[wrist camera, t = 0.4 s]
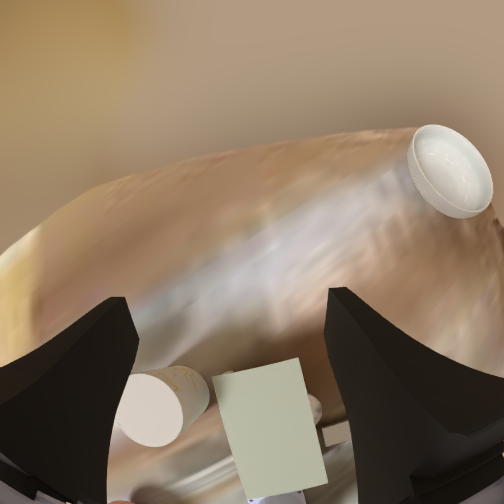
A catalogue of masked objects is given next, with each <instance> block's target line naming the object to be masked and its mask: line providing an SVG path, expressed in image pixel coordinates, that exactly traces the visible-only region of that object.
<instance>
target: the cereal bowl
mask: <svg viewBox="0 0 504 504" xmlns="http://www.w3.org/2000/svg"><path fill="white" fill-rule="evenodd" d="M407 163H408V168H409V172H410V176H411V178H412V181H413V183H414V185H415V187H416V188H417V190H418V191H419V193H420V194H421V196H422V197H423V198H424V199H425V200H426V201H427V202H428V203H429V204H430V205H431V206H432V207H433V208H435V209H436V210H438V211H439V212H441V213H443V214H445V215H447V216H449V217H453V218H457V219H466V218H470V217H473V216H476V215H477V214H479V213H481V212H482V211H483V210H485V209H486V208H487V207H488V205H489V204H490V202H491V200H492V196H493V182H492V177H491V174H490V171H489V169H488V166H487V164H486V162H485V160H484V159H483V157H482V156H481V154H480V153H479V152H478V150H477V149H476V148H475V147H474V146H473V145H472V144H471V143H470V142H469V141H468V140H467V139H466V138H465V137H463V136H462V135H461V134H459V133H457V132H456V131H454V130H452V129H450V128H447V127H444V126H440V125H426V126H423V127H421V128H420V129H418V130H417V131H416V132H415V134H414V136H413V137H412V140H411V142H410V145H409V149H408V154H407Z"/></svg>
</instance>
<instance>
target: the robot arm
mask: <svg viewBox="0 0 504 504" xmlns="http://www.w3.org/2000/svg"><path fill="white" fill-rule="evenodd" d="M324 337H325V342H326V347H327V352H328V357H329V360H330V363H331V366H332V369H333V372H334V375H335V378H336V381H337V384H338V387H339V390H340V394H341V397H342V400H343V403H344V406H345V409H346V413H347V417H348V421H349V427H350V432H351V438H352V444H353V451H354V458H355V466H356V476H357V486H358V504H504V457H503V455H502V453H503V452H504V441H503V440H504V378H502V377H498V376H494V375H490V374H487V373H484V372H481V371H478V370H475V369H473V368H470V367H467V366H465V365H463V364H460V363H458V362H456V361H454V360H451V359H449V358H447V357H445V356H443V355H441V354H439V353H437V352H435V351H433V350H432V349H430V348H428V347H426V346H425V345H423V344H421V343H420V342H418V341H416V340H415V339H413V338H412V337H410V336H409V335H407V334H406V333H404V332H403V331H401V330H400V329H399V328H397V327H396V326H394V325H393V324H392V323H390V322H389V321H388V320H386V319H385V318H384V317H382V316H381V315H380V314H379V313H377V312H376V311H375V310H374V309H372V308H371V307H370V306H369V305H368V304H366V303H365V302H364V301H363V300H362V299H360V298H359V297H358V296H357V295H356V294H354V293H353V292H352V291H351V290H349V289H348V288H347V287H338V288H329V292H328V302H327V311H326V320H325V329H324ZM138 344H139V337H138V334H137V331H136V328H135V326H134V323H133V320H132V317H131V314H130V311H129V308H128V305H127V302H126V299H125V297H110V298H108V299H106V300H105V301H103V302H102V303H100V304H99V305H97V306H96V307H95V308H93V309H92V310H90V311H89V312H88V313H86V314H85V315H84V316H82V317H81V318H80V319H78V320H77V321H76V322H74V323H73V324H72V325H70V326H69V327H68V328H66V329H65V330H63V331H62V332H61V333H59V334H58V335H56V336H55V337H54V338H52V339H51V340H49V341H48V342H46V343H45V344H43V345H42V346H40V347H39V348H37V349H35V350H34V351H32V352H30V353H29V354H27V355H25V356H23V357H21V358H19V359H17V360H15V361H13V362H11V363H9V364H7V365H5V366H3V367H0V504H66V502H68V503H71V504H107V465H108V454H109V447H110V440H111V434H112V429H113V424H114V419H115V415H116V412H117V409H118V406H119V403H120V400H121V397H122V395H123V392H124V389H125V386H126V384H127V381H128V378H129V376H130V373H131V370H132V367H133V365H134V362H135V357H136V353H137V349H138ZM299 491H301V492H298V491H294V492H289V493H284V494H279V495H273V496H267V497H261V498H254V499H247V500H248V503H249V504H306V501H305V497H304V493H303V490H299ZM250 500H253V501H250Z"/></svg>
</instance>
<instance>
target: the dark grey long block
mask: <svg viewBox="0 0 504 504" xmlns="http://www.w3.org/2000/svg"><path fill="white" fill-rule="evenodd" d="M321 430H322V434H323V438H324V443H325V446H326V447H328V446H331V445H334V444H338V443H341V442H344V441H347V440H350V439H352V438H351V432H350V427H349V421H348V418H347V419H344V420H341V421H338V422H335V423H332V424H329V425H325V426H322V427H321Z"/></svg>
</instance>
